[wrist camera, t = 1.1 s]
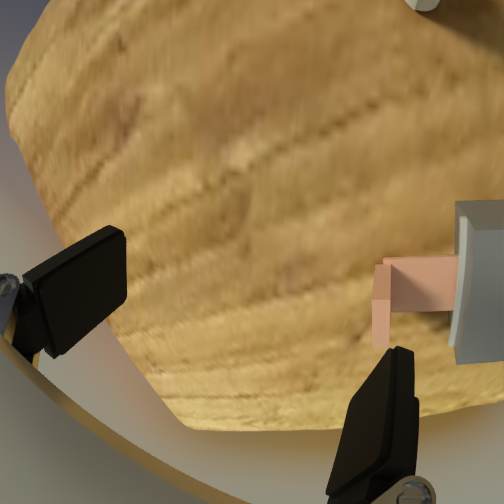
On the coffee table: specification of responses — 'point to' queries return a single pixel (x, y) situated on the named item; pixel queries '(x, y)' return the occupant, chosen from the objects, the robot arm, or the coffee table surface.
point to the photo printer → (422, 4)
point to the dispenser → (478, 283)
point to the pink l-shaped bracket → (411, 289)
